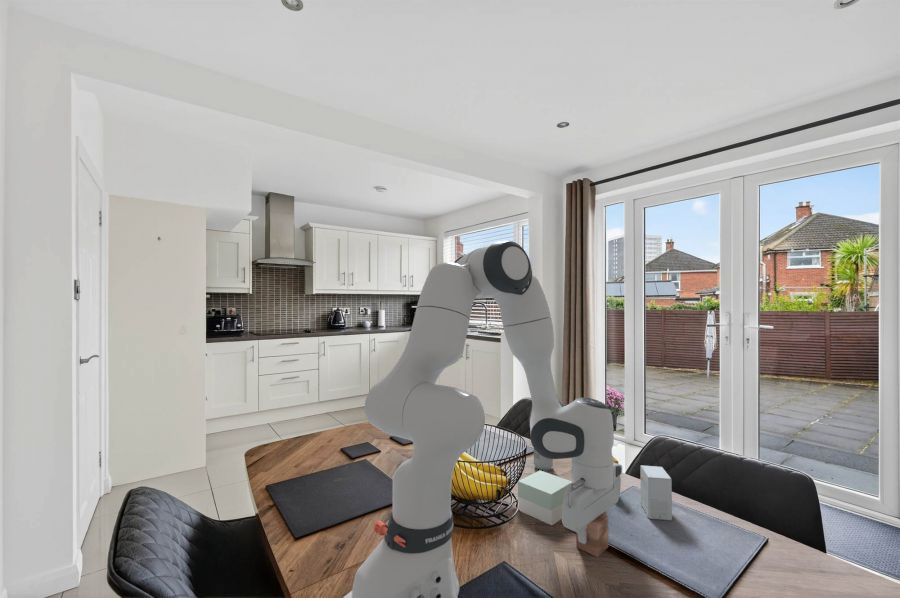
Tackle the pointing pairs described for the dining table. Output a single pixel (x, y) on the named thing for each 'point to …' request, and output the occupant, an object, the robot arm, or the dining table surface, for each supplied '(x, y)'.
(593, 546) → the terracotta block
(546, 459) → the energy drink can
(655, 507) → the small box
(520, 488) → the tower top block
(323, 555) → the dining table surface
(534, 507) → the tower base block
